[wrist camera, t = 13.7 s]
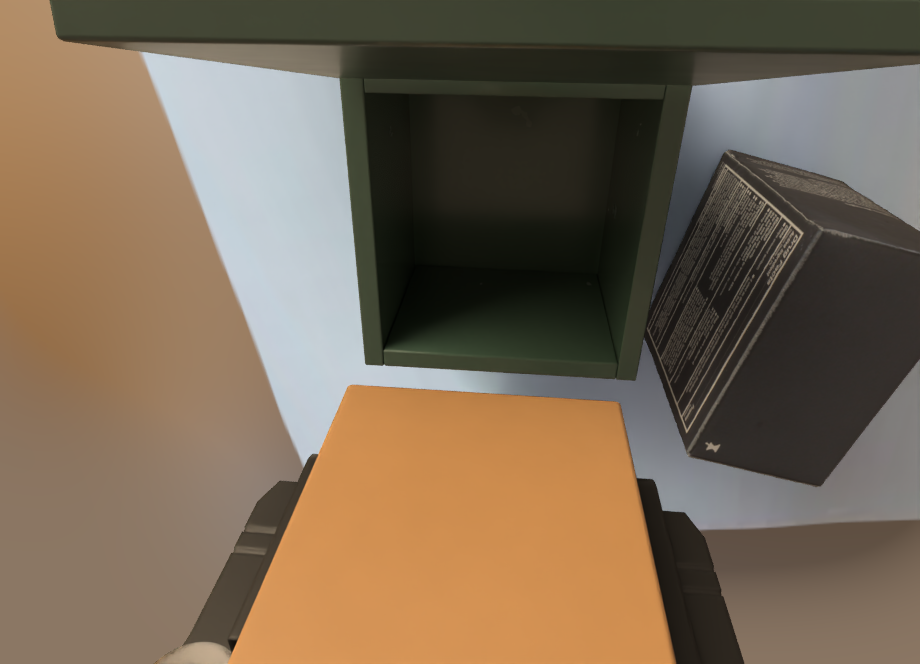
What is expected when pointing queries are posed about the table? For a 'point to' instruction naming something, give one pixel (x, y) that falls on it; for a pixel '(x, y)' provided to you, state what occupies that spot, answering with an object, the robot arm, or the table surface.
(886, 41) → the bin lid
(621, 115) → the bin
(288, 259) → the table surface
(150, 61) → the table surface
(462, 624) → the carton
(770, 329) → the small box
